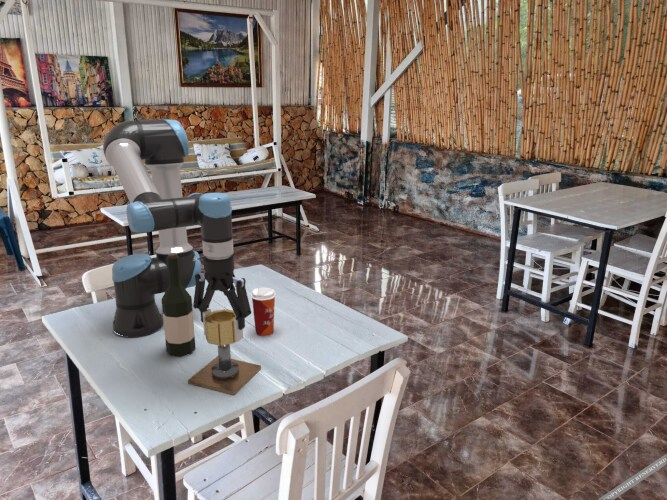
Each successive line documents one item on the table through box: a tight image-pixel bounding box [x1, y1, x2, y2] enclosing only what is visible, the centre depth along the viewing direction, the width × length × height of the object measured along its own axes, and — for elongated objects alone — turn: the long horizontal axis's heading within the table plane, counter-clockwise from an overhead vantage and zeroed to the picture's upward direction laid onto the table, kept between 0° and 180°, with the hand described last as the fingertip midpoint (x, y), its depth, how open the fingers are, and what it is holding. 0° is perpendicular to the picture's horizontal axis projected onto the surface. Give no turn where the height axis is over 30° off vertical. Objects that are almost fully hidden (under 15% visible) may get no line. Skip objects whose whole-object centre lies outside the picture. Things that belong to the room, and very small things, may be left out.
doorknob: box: [187, 344, 262, 396], centre depth 141 cm, size 14×14×10 cm
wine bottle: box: [160, 253, 197, 358], centre depth 151 cm, size 8×8×30 cm
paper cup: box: [250, 287, 277, 337], centre depth 165 cm, size 8×8×14 cm
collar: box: [204, 308, 236, 346], centre depth 138 cm, size 9×9×6 cm
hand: (223, 336), depth 139 cm, fingers closed on collar, 9 cm apart
